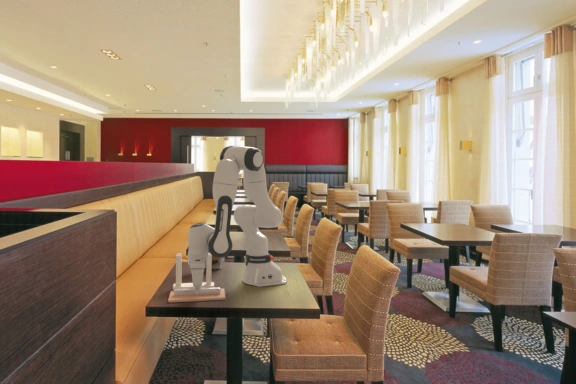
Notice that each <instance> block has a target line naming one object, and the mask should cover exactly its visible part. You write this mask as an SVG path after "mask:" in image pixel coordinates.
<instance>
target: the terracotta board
mask: <svg viewBox="0 0 576 384" xmlns="http://www.w3.org/2000/svg"><path fill="white" fill-rule="evenodd" d="M226 299H227V298H226V291H225V288H223V287H222V288H221V290H220V294H208V295H188V296H174V290H170V293H169V296H168V299H167V302H168V303H169V304H170V303H183V302H186V303H189V302H203V301H204V302H205V301H206V302H207V301H224V300H226Z"/></svg>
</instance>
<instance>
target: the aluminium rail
mask: <svg viewBox="0 0 576 384" xmlns="http://www.w3.org/2000/svg"><path fill="white" fill-rule="evenodd" d="M221 289H222V288H221V287H220V286H214V287H207V288H200V294H195V288H185V289H174V290H173V291H174V296H188V295H208V294H220V290H221Z"/></svg>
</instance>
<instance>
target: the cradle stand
mask: <svg viewBox="0 0 576 384" xmlns="http://www.w3.org/2000/svg"><path fill="white" fill-rule="evenodd" d="M182 260H183V254H182V253H176V255H175V283H173V284H172V291H174V289H185V288H195V287H194V286H193V282H182V281H183V280H182V277H183V276H182V269H183V268H182V266H183V265H182V262H183V261H182ZM205 268H206V270H205V272H206V273H205V274H206V277H205V280H206V281H205V282H204V281H202V286H200V288H207V287H215V282H214V281H212V255H211V254H210V253H208V264H207V265H206V267H205Z"/></svg>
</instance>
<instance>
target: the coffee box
mask: <svg viewBox="0 0 576 384" xmlns="http://www.w3.org/2000/svg"><path fill="white" fill-rule="evenodd" d="M208 253H210V252H209V251H208ZM224 267H225V257H223V258H216V257H214V256H212V269H214V270H215V269H216V270H221V269H223V268H224Z"/></svg>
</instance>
